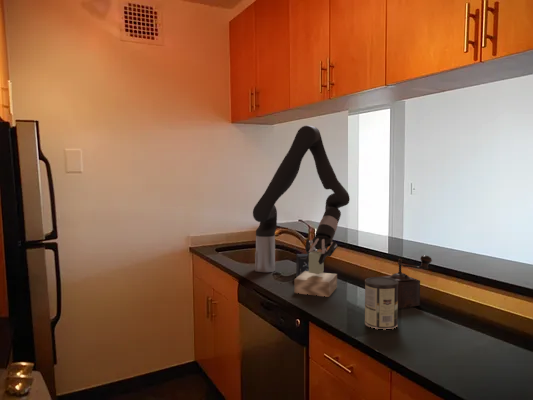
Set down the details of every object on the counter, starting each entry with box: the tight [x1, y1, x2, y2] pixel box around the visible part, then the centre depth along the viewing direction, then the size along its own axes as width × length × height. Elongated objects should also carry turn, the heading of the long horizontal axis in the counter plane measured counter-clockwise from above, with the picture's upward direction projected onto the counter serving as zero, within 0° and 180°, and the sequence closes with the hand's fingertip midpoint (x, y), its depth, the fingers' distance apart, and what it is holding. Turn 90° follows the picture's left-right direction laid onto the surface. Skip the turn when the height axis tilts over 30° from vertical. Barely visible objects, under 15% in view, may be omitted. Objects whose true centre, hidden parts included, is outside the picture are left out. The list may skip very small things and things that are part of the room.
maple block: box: [293, 271, 338, 298], centre depth 170 cm, size 14×14×6 cm
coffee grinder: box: [381, 254, 433, 310], centre depth 153 cm, size 16×11×18 cm
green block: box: [309, 251, 325, 274], centre depth 169 cm, size 4×4×8 cm
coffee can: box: [364, 276, 399, 331], centre depth 132 cm, size 10×10×14 cm
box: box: [295, 253, 309, 278], centre depth 189 cm, size 8×6×11 cm
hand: (314, 262), depth 168 cm, fingers closed on green block, 4 cm apart
